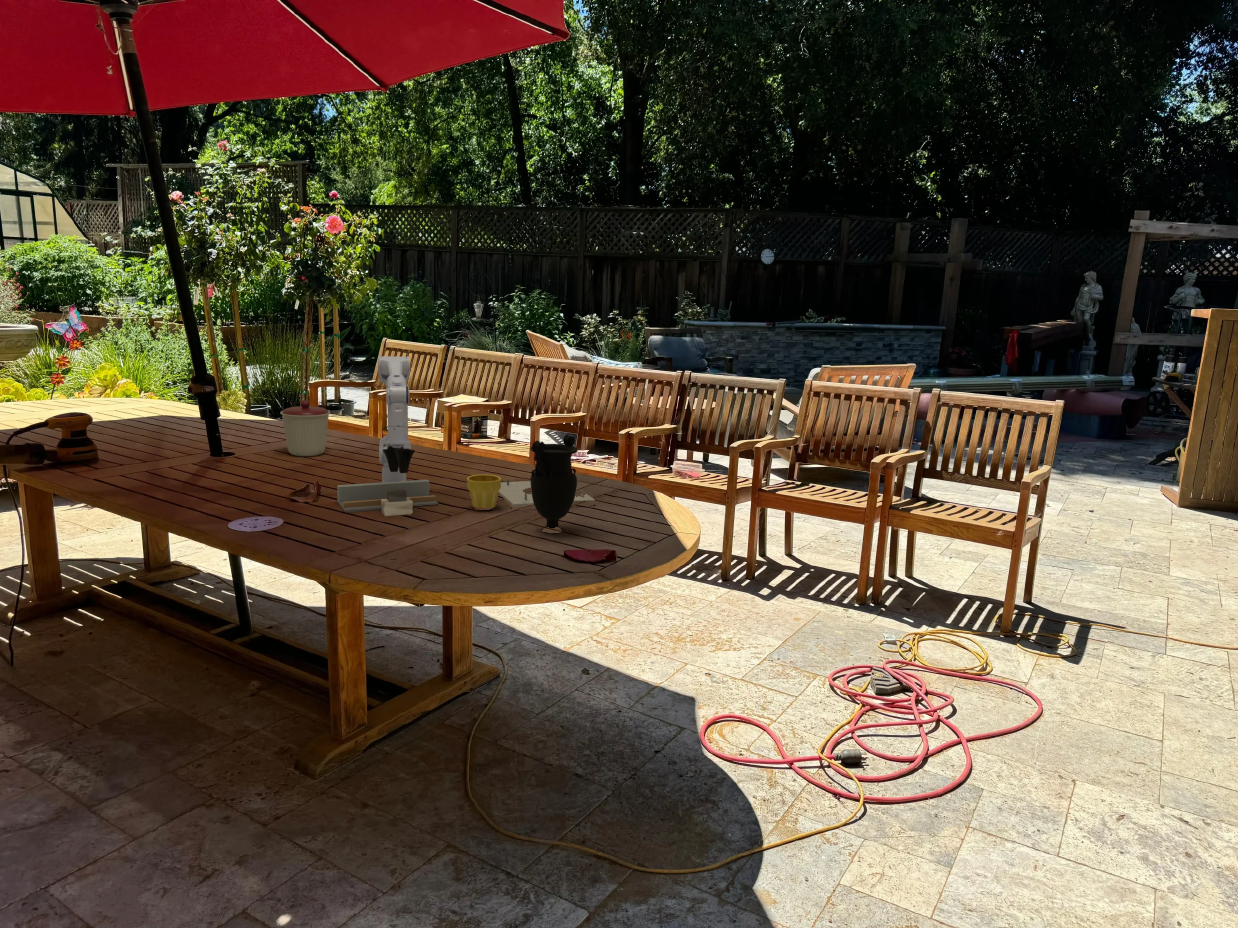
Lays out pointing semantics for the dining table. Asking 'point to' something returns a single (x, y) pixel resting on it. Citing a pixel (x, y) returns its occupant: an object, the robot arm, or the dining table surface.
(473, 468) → the dining table surface
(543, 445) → the urn
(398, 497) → the cabinet block
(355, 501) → the wall board
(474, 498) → the plant pot
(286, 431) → the canister
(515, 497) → the mounting panel
